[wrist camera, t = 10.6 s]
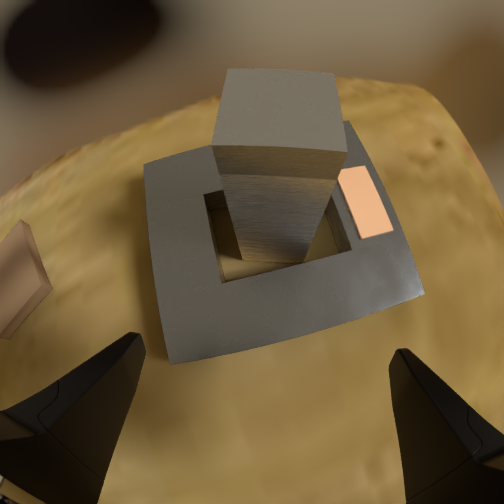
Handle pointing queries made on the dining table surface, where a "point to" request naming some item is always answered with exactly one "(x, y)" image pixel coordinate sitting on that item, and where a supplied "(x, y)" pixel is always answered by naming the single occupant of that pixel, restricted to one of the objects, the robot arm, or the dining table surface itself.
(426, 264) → the dining table surface
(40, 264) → the pad
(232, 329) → the flange plate
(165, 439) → the dining table surface
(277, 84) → the grey square peg
